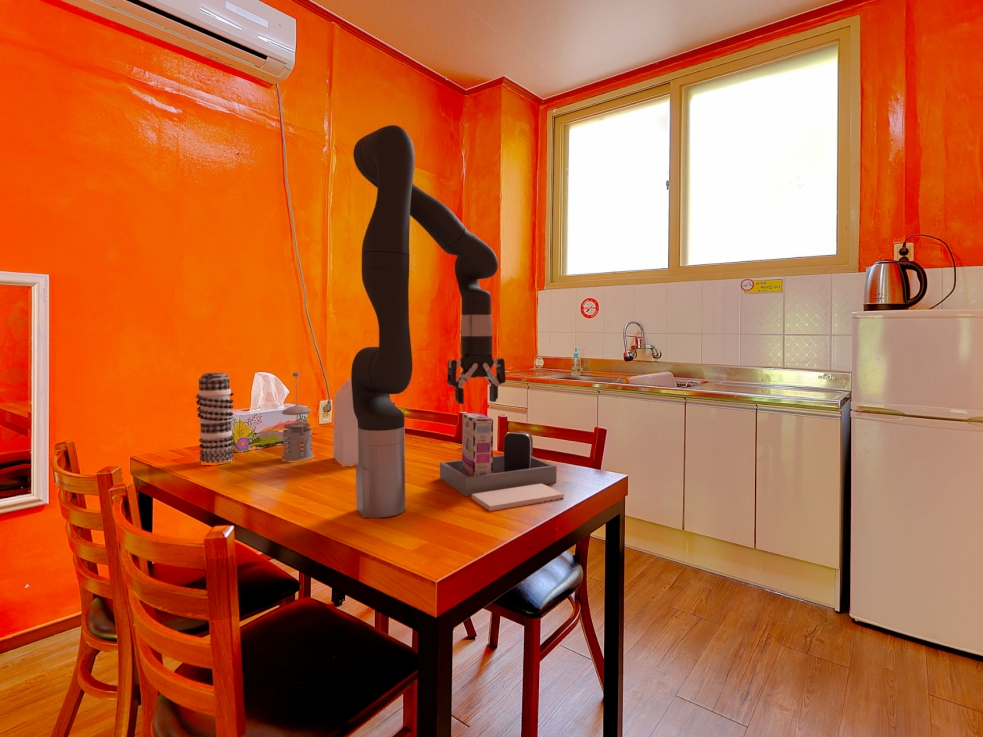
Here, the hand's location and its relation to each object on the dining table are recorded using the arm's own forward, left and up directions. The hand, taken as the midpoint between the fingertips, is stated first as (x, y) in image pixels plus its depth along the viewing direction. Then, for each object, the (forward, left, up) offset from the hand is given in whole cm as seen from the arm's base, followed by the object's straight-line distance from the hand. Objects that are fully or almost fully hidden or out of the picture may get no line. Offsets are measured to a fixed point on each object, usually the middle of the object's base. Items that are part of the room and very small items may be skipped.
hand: (477, 402), depth 123 cm
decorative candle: (-57, +51, -20) cm, 79 cm away
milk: (-21, +36, -20) cm, 46 cm away
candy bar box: (0, 0, -20) cm, 20 cm away
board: (+3, -15, -20) cm, 25 cm away
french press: (-36, +45, -20) cm, 61 cm away
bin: (+5, 0, -20) cm, 20 cm away
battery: (+11, 0, -20) cm, 23 cm away
